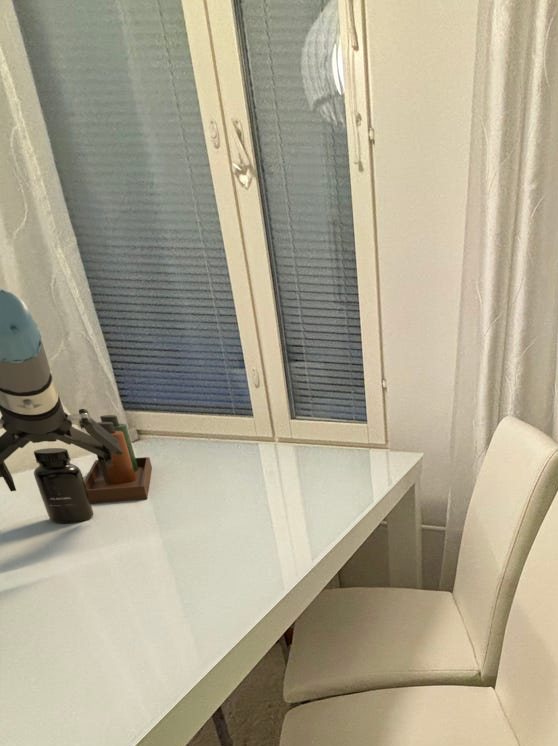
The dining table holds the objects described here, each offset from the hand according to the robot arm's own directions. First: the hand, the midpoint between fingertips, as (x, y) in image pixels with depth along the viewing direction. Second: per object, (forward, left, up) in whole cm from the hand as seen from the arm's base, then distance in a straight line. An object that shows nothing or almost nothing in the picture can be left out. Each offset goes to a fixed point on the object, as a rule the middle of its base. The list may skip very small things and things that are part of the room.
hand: (60, 479), depth 96 cm
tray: (+6, +25, -7) cm, 27 cm away
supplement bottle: (0, +1, -7) cm, 7 cm away
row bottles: (+6, +31, -7) cm, 32 cm away
